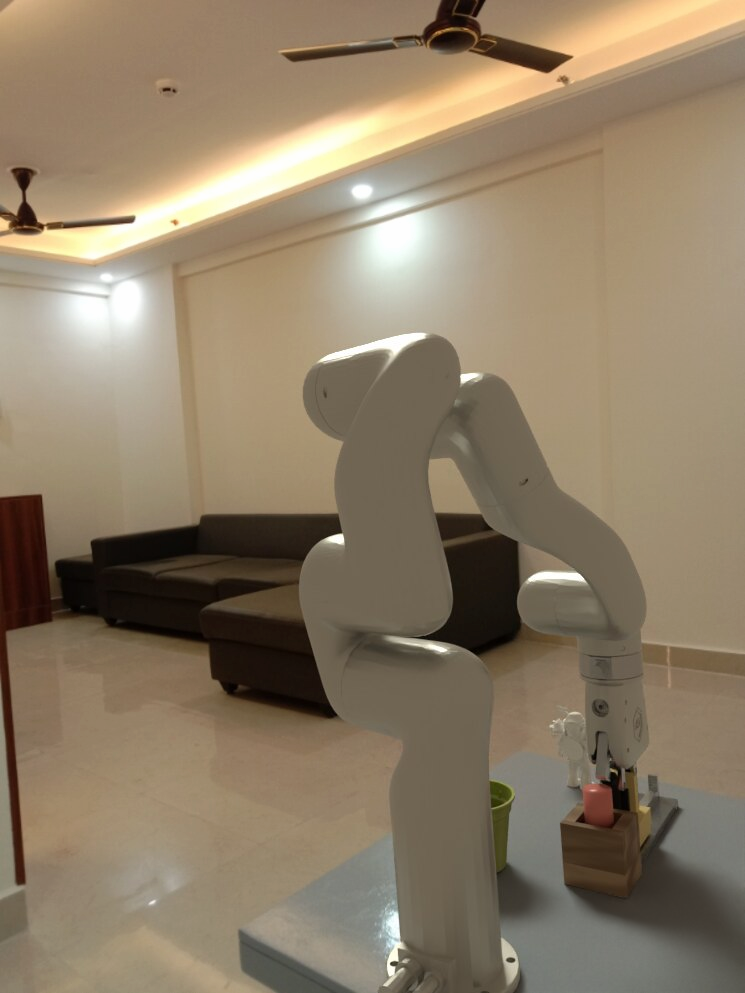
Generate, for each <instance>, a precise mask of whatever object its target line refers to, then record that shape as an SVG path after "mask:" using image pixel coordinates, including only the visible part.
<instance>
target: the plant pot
mask: <svg viewBox="0 0 745 993" xmlns="http://www.w3.org/2000/svg"><path fill="white" fill-rule="evenodd" d="M489 780H490V797H491V810H492V823H493V835H494V848H495V862H496V874H497V873H500V872H501V871H502V870H504V869H505V867H506V865H507V859H508V858H507V856H508V843H509V842H508V841H509V824H510V822H509V821H510V812H511V811H512V804H513V802H515V801H514V800H515V799H516V798H515V797H516V793H515V790H514V788H513V787H512V786H510V785H509V784H507V783H505V782H502V781H499V780H494V779H489Z"/></svg>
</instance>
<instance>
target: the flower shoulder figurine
mask: <svg viewBox="0 0 745 993" xmlns="http://www.w3.org/2000/svg"><path fill="white" fill-rule="evenodd" d="M554 707H555V710H556V709H557V712H561V714H562V715H564V716H565V715H566V717H564V719H562V717H558V719H556V720H552V723H553V724H550V725H549V726H548V728H549V729H550V730H549V732H550V735H551V737H552V738H554V739H555V738H557V737H558V736H559V737H558V740H557V755H558V757H559V758H563V757H566V758H567V761H568V769H569V770H568V776H567V780H566V785H567V787H569V788H578V787H579V789H580V790H581V791H583V787H584V786H585V785H588V784H596V783H595V782H594V781H592V771H591V765H590V760H589V758H588V752H587V743H586V726H585V715H583V714H582V713H581V712H578V711H571V712H569V711H567V710H568V707H563V706H561V705H559V704H558V703H555V704H554ZM559 734H560V735H559ZM579 769H580V770H579ZM579 771H581V772H580V773H581V776H580V778H579Z"/></svg>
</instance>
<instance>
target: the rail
mask: <svg viewBox="0 0 745 993" xmlns="http://www.w3.org/2000/svg"><path fill="white" fill-rule="evenodd" d="M647 784H648V786H647V787H648V790H647V791H646V792H645V793H640V792H638V796H639V806H645V807H650V810H651V825H650V828H651V831H650V833H649V835H648V836H647V838H646V839H645V841H644V842H643V844H642V845H641V847H640V852H641V867H642V866H643V864H644V862H646V860H647V858H648V856H649V855H650V853H651V851H652V849H653V848H654V847H655V845H656V843H657V841H658V840H659V839H660V837H661V835H662V833H663V832H664V830H665V829H666V827H667V826H668V824H669V823H670V821H671V819H672V817H673V816H674V814H675V812H676V811H677V809H678V808H679V801H678V798H673V797H672V798H671V797H666V796H660V786H659V775H658V774H657V773H656V774H655V773H647ZM677 807H678V808H677ZM676 808H677V809H676ZM675 810H676V811H675Z"/></svg>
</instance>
